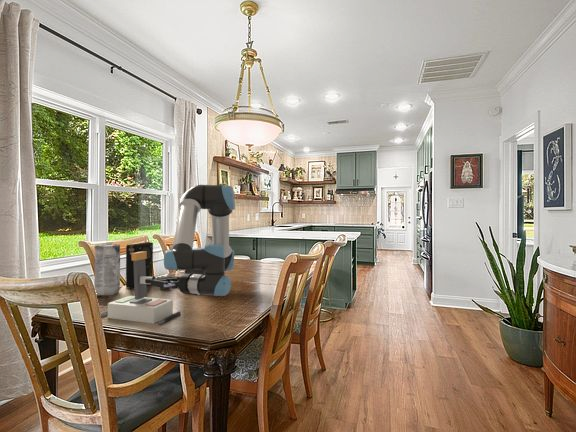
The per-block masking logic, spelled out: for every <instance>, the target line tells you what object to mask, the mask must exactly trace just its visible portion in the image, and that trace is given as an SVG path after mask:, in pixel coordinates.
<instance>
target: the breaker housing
mask: <svg viewBox="0 0 576 432" xmlns="http://www.w3.org/2000/svg"><path fill="white" fill-rule="evenodd" d="M173 305H174V300H173V299H166V298H158V297H157V298H156V297H148V296H147V297H144V298H141V299H139V300H135V295H128V296H125V297H122V298H119V299H115V300H113V301H110V302H107V311H108V315H107V319H114V320H123V321H131V322H136V323H137V322H139V323H148V324H155V323H158V321H160V320H162V319H164V318H166V317H168V316H170V315H172V314H174V310H173V309H174V307H173Z"/></svg>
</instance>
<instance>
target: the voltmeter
mask: <svg viewBox="0 0 576 432" xmlns="http://www.w3.org/2000/svg"><path fill="white" fill-rule="evenodd" d="M125 249H126V250H125V254H126V255H125V257H126V258H125V288H127V289H134V265H133V261H132V258H131V253H136V252H144V251H147V259H145V266H146V277H154V276H153V275H154V274H153V273H154V266H153V265H154V264H153V263H154V243H153V242H151V241H150V242H149V241H143V242H137V243H131V244H126V246H125ZM149 285H150V284H146V286H149Z"/></svg>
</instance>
